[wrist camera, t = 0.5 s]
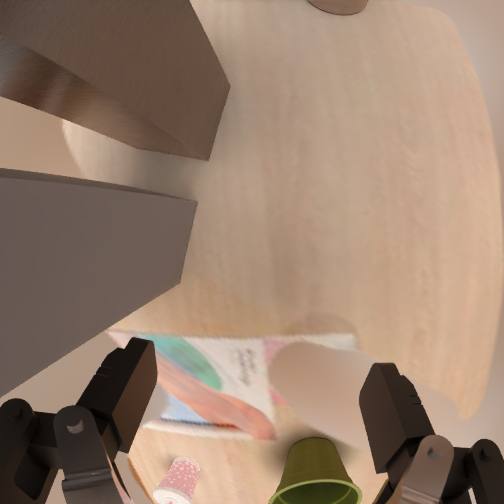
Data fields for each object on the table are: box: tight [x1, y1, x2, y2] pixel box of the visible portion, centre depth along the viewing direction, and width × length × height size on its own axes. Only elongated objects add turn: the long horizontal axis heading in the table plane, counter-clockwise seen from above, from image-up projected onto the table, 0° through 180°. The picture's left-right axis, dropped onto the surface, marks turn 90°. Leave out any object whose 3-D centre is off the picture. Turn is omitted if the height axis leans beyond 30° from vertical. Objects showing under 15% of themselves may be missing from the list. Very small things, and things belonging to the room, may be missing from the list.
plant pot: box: [268, 438, 362, 504], centre depth 31 cm, size 12×12×11 cm
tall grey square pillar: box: [0, 168, 198, 398], centre depth 19 cm, size 10×10×32 cm
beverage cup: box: [153, 457, 200, 504], centre depth 33 cm, size 6×6×14 cm
